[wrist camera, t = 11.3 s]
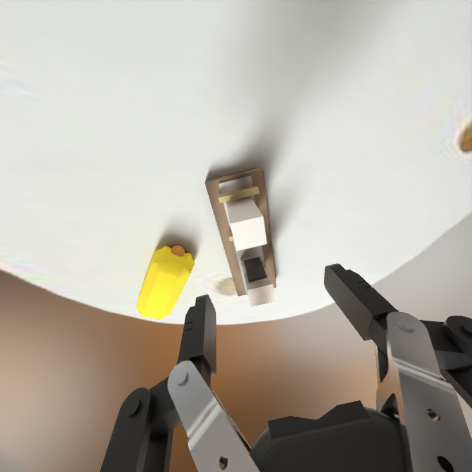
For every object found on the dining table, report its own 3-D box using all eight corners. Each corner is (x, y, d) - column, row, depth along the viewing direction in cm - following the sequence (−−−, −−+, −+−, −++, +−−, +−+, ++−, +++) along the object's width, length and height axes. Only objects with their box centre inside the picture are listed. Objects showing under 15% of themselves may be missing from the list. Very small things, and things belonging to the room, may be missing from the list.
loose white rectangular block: (250, 196, 26) (263, 215, 19) (254, 221, 29) (267, 247, 22) (225, 202, 26) (230, 223, 19) (231, 227, 29) (237, 254, 22)
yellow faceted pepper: (138, 297, 38) (172, 305, 40) (125, 325, 32) (165, 332, 34) (161, 234, 31) (200, 248, 33) (149, 255, 25) (197, 270, 28)
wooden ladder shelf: (259, 167, 27) (283, 180, 18) (273, 281, 40) (291, 322, 31) (205, 180, 27) (200, 199, 18) (237, 289, 40) (244, 333, 31)
